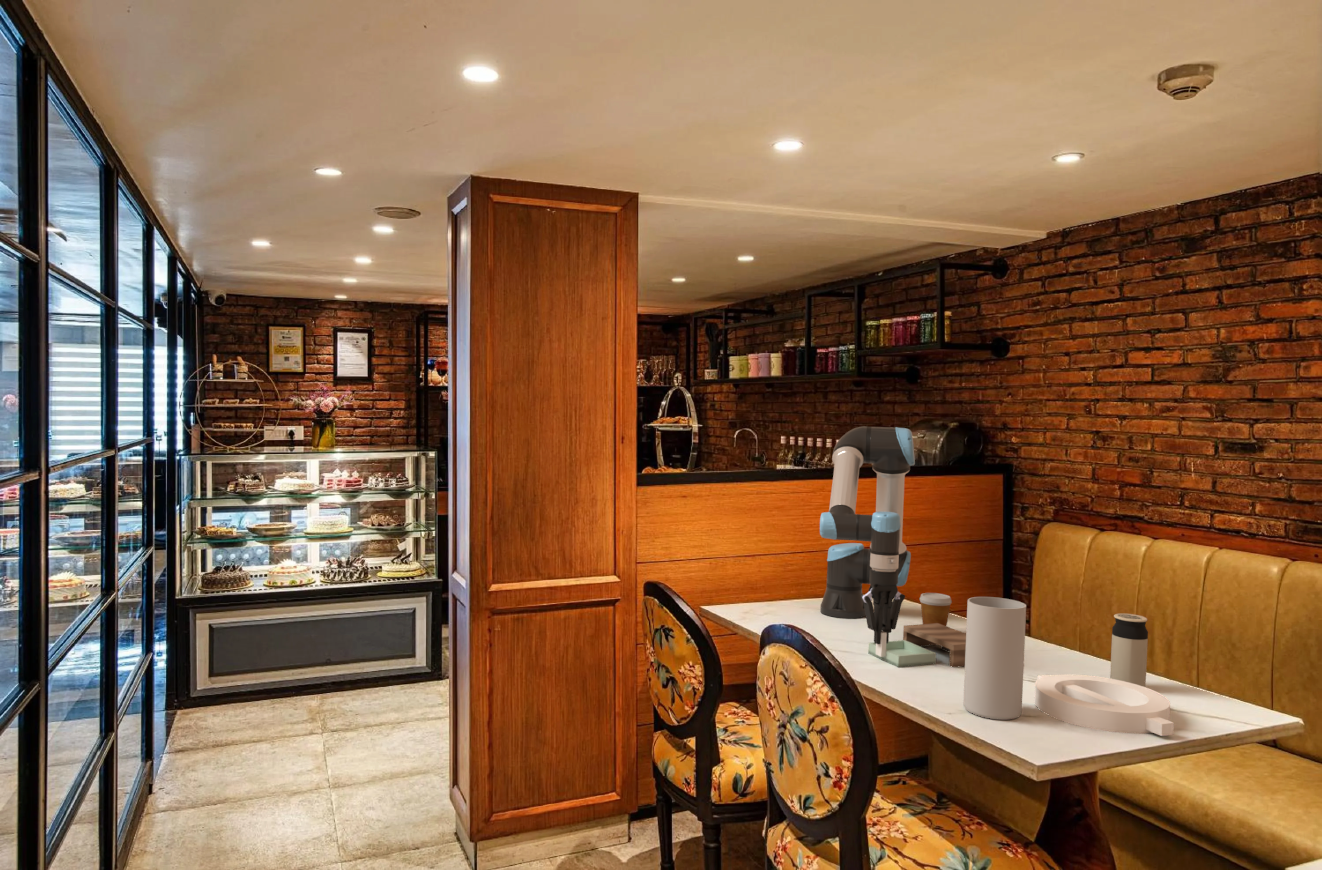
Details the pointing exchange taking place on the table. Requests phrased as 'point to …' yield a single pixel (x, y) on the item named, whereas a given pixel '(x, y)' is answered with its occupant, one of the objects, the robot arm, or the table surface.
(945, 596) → the disposable coffee cup
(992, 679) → the cylinder vase
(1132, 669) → the travel mug
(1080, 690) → the ring with crossbar
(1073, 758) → the table surface
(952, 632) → the walnut overhang
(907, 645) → the green tray
